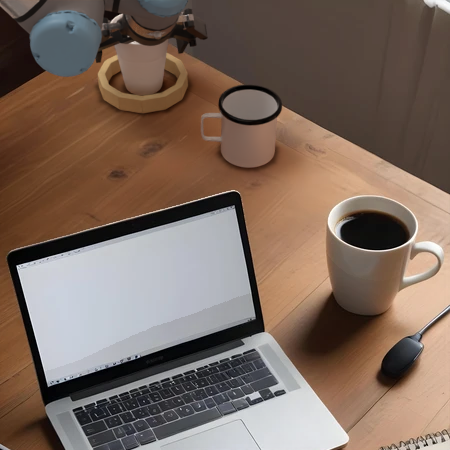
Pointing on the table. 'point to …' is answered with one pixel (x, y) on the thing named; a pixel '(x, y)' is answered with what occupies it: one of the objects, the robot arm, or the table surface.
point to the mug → (247, 124)
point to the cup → (141, 65)
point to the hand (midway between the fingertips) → (138, 49)
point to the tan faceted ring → (148, 101)
